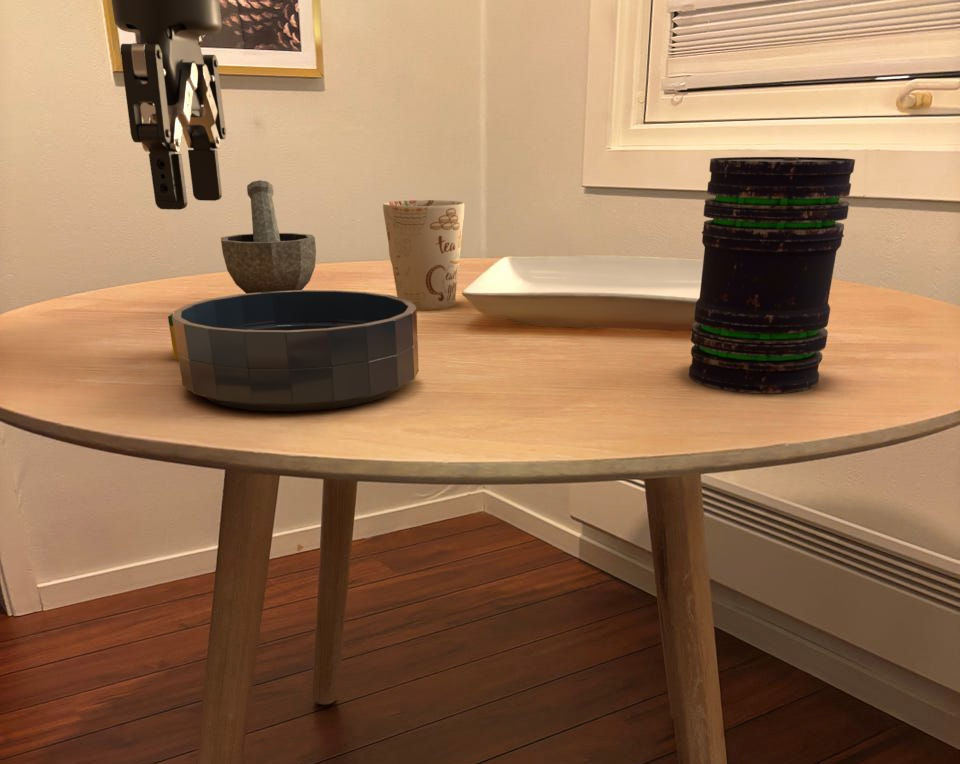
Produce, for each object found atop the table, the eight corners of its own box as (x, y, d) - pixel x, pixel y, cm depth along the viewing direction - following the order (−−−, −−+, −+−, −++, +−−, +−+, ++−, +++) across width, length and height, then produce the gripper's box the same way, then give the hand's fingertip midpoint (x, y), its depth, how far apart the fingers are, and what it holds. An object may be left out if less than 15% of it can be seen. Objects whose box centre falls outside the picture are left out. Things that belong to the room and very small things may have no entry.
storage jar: (803, 400, 66) (841, 162, 59) (669, 384, 71) (690, 160, 64) (831, 371, 74) (868, 157, 67) (709, 358, 78) (731, 156, 71)
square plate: (459, 331, 89) (458, 288, 87) (504, 287, 112) (504, 252, 110) (756, 340, 84) (762, 294, 82) (738, 292, 108) (742, 256, 106)
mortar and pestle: (324, 313, 98) (313, 184, 92) (231, 317, 95) (214, 186, 90) (312, 296, 107) (302, 178, 101) (228, 300, 105) (213, 180, 99)
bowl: (148, 414, 64) (134, 330, 61) (225, 358, 79) (216, 289, 76) (401, 418, 63) (397, 333, 60) (429, 360, 78) (427, 290, 75)
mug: (412, 314, 96) (408, 207, 92) (356, 298, 106) (350, 200, 101) (480, 306, 100) (480, 203, 96) (420, 291, 110) (417, 196, 105)
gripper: (146, -33, 73) (175, 197, 81) (63, -65, 61) (107, 211, 69) (241, -33, 73) (261, 199, 81) (177, -64, 60) (209, 213, 68)
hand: (191, 204), depth 75 cm, fingers open, 8 cm apart
